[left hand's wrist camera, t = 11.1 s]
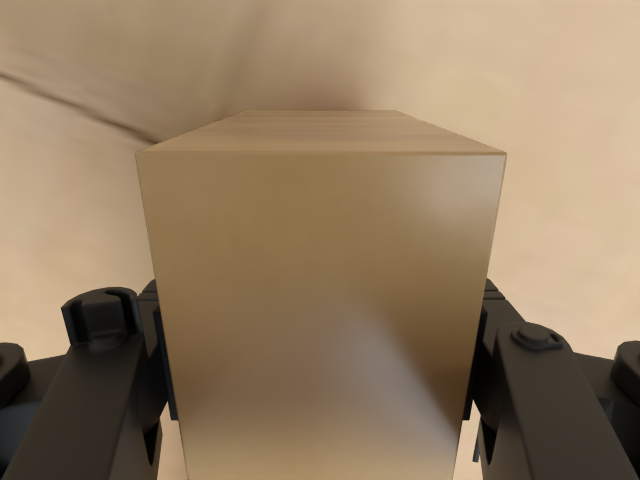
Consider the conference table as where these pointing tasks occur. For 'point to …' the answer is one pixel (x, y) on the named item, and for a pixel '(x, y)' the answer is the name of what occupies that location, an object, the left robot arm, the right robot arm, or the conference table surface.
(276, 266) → the beam
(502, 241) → the conference table surface
